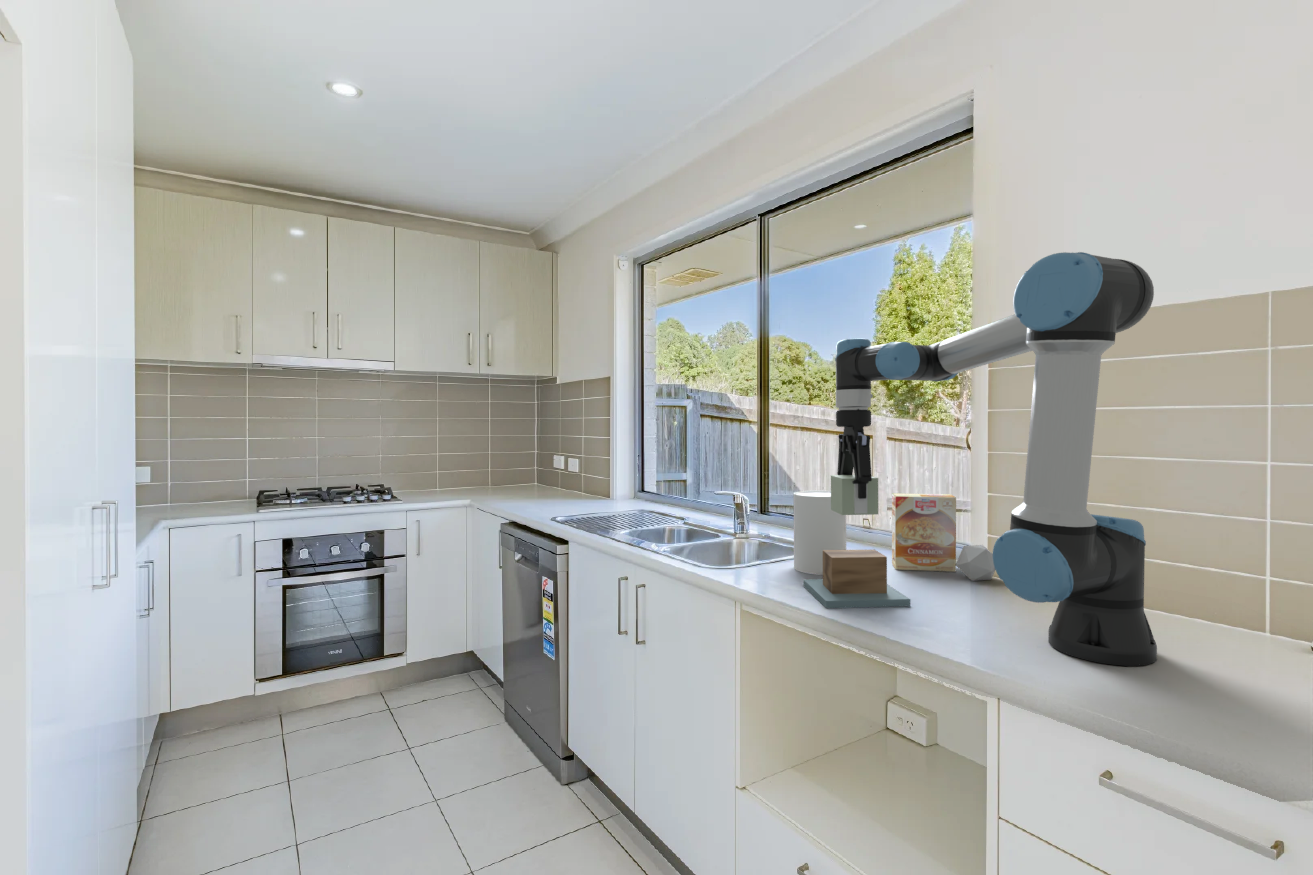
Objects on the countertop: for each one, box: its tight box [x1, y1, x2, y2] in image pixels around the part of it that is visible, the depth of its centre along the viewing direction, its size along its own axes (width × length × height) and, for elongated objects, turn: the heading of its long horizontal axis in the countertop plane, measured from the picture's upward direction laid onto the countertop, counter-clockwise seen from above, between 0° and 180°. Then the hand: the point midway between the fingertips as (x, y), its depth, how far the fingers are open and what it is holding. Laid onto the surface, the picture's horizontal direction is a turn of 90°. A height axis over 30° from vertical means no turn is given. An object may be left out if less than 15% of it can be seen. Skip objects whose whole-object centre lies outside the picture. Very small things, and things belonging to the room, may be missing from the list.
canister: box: [793, 490, 847, 576], centre depth 169 cm, size 14×14×20 cm
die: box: [956, 544, 996, 582], centre depth 156 cm, size 8×9×10 cm
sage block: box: [830, 474, 879, 516], centre depth 143 cm, size 8×8×8 cm
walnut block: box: [822, 548, 888, 594], centre depth 143 cm, size 8×12×8 cm, turn 90°
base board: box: [802, 578, 911, 609], centre depth 143 cm, size 18×18×2 cm
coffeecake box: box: [891, 492, 957, 573], centre depth 168 cm, size 15×7×20 cm, turn 77°
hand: (853, 510), depth 143 cm, fingers closed on sage block, 8 cm apart
